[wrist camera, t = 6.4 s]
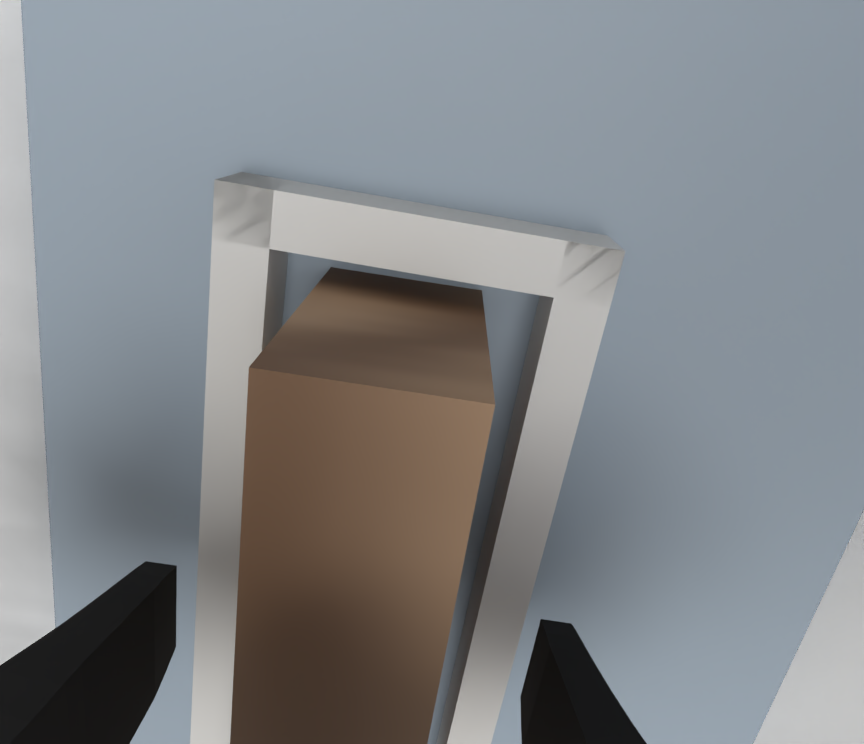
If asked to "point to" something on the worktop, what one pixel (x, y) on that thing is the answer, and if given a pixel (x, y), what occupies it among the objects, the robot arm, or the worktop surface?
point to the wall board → (503, 305)
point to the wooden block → (357, 509)
